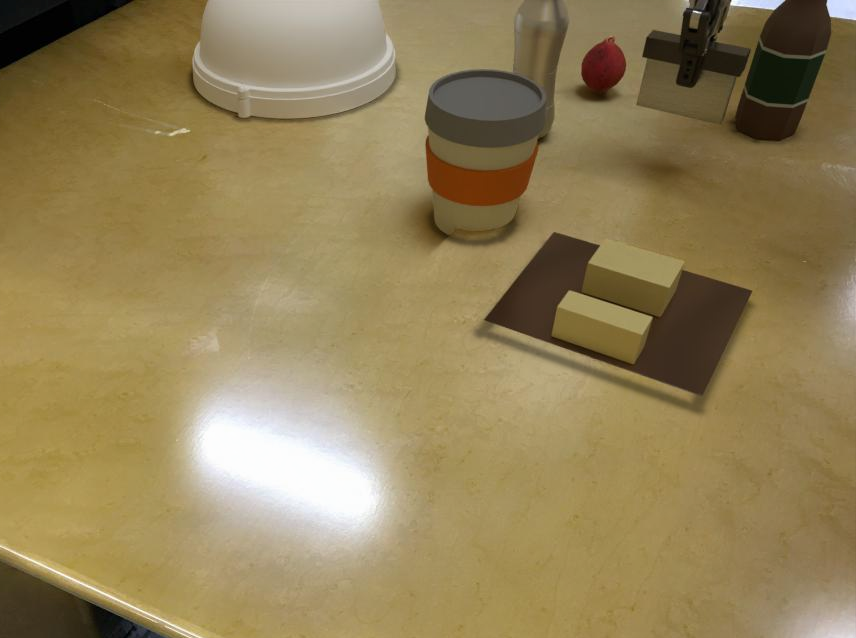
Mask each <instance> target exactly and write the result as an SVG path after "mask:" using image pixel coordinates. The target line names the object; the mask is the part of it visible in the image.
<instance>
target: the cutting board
mask: <svg viewBox="0 0 856 638" xmlns="http://www.w3.org/2000/svg"><path fill="white" fill-rule="evenodd" d="M600 245H601V244H597V243H593V242H590V241H587V240H583V239H581V238H577V237H573V236H570V235H566V234H563V233H560V232H555V231H553V233H551V234H550V235H549V237H548V238H547V240H546V241H545V242H544V243H543V244H542V246H541V247H540V249H538V251H537V252H536V254H535V255H534V256H533V257H532V259H531V260H530V261H529V262H528V264H526V266H525V267H524V269H523V270H522V271H521V273H519V275H518V276H517V277H516V278H515V280H514V281H513V282H512V284H511V285H510V286H509V287H508V289H507V290H506V291H505V293H503V295H502V296H501V298H500V299H499V300H498V301H497V302H496V304H495V305H494V306H493V308H492V309H491V310H490V312H489V313H488V314H487V315H486V316H485V318H484V319H483V321H485V322H488V323H491V324H494V325H496V326H498V327H499V326H500V327H502V328H505V329H508V330H511V331H514V332H517V333H519V334H523V335H525V336H528V337H531V338H534V339H537V340H539V341H543V342H544V343H547V344H551V345H553V346H556V347H559V348H562V349H565V350H568V351H571V352H573V353H577V354H579V355H582V356H585V357H587V358H590V359H594V360H597V361H599V362H602V363H606V364H608V365H611V366H614V367H617V368H620V369H623V370H625V371H628V372H631V373H634V374H637V375H640V376H641V377H642V376H643V377H645V378H649V379H651V380H654V381H657V382H660V383H662V384H665V385H668V386H671V387H674V388H677V389H679V390H682V391H685V392H688V393H691V394H694V395H696V396H700V397H703V396H704V394H705V391H706V389H707V388H708V385H709V383H710V381H711V379H712V377H713V375H714V372H715V371H716V368H717V366H718V364H719V362H720V360H721V358H722V356H723V354H724V352H725V350H726V348H727V346H728V343H729V342H730V339H731V337H732V335H733V334H734V331H735V329H736V326H737V325H738V323H739V320H740V319H741V317H742V314H743V312H744V310H745V309H746V306H747V304H748V302H749V299H750V297H751V295H752V293H753V290H752V289H750V288H746V287H742V286H739V285H735V284H732V283H729V282H725V281H722V280H718V279H716V278H711V277H708V276H705V275H701V274H698V273H695V272H691V271H689V270H688V271H687V270H685V269H683V270H682V273H681V276H680V279H679V282H678V286H677V289H676V291H675V293H674V295H673V297H672V298H671V300H670V302H669V304H668V305H667V307H666V309H665V310H664V312H663V314H662V316H661V317H658V316H654V315H651V314H648V313H645V312H642V311H639V310H636V309H633V308H629V307H626V306H623V305H620V304H617V303H614V302H611V301H608V300H605V299H601V298H598V297H595V296H592V295H589V294H586V293H583V292H582V287H583V283H584V278H585V274H586V269H587V265H588V262H589V261H590V259H591V258H592V256H593V255H594V254H595V252H596V251H597V249H598V248H599V247H600ZM569 290H570V291H573V292H577V293H580V294H583V295H586V296H589V297H592V298H595V299H598V300H601V301H605V302H608V303H611V304H614V305H617V306H620V307H623V308H626V309H629V310H633V311H636V312H639V313H642V314H645V315H648V316H651V317H653V319H652V322H651V326H650V329H649V332H648V336H647V339H646V342H645V346H644V348H643V350H642V351H641V353H640V355H639V357H638V358H637V360H636V362H635V363H634V364H630V363H627V362H624V361H621V360H619V359H616V358H613V357H610V356H607V355H604V354H601V353H598V352H595V351H593V350H590V349H587V348H584V347H581V346H578V345H575V344H572V343H569V342H567V341H564V340H561V339H558V338H555V337H552V336H551V335H552V330H553V325H554V320H555V315H556V310H557V306H558V305H559V304H560V302H561V301H562V299H563V298H564V297H565V295H566V294H567V292H568V291H569Z"/></svg>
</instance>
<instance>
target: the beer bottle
mask: <svg viewBox="0 0 856 638" xmlns="http://www.w3.org/2000/svg"><path fill="white" fill-rule="evenodd" d="M831 36H832V19H831V15H830V11H829V8H828V0H784V1H783V2H781V3H780V4H779V5H777V7H776V8H775V9H774V10H773V11H772V12H771V14H769V17H768V18H767V19H766V21H765V22H764V25H763V27H762V30H761V33H760V35H759V38H758V41H757V44H756V48H755V51H754V53H753V57H752V60H751V63H750V66H749V69H748V73H747V75H746V80H745V82H744V85H743V89H742V91H741V94H740V98H739V101H738V105H737V109H736V112H735V117H734V118H735V123H736V127H737V131H739V132H741V133H743V134H745V135H747V136H750V137H751V138H754V139H756V140H771V141H780V140H783V139H785V138H787V137H789V136H792V135H794V134H795V133H796V132H797V129H798V127H799V125H800V123H801V120H802V117H803V115H804V113H805V109H806V107H807V105H808V101H809V99H810V96H811V93H812V91H813V88H814V86H815V82H816V81H817V77H818V74H819V71H820V69H821V66H822V64H823V61H824V59H825V56H826V53H827V50H828V46H829V43H830V39H831Z"/></svg>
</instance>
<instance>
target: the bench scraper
mask: <svg viewBox="0 0 856 638" xmlns="http://www.w3.org/2000/svg"><path fill="white" fill-rule="evenodd" d="M680 36H681V34H678V33H677V34H676V33H671V32H667V31H661V30H656V29H652V30H651V32H650V33H649V34H648V35H647V36H646V37H645V42H644V46H643V51H642V55H641V57H642V58H645V59H646V62H645V66H644V70H643V75H642V79H641V84H640V88H639V92H638V96H637V100H636V106H637V107H642V108H647V109H651V110H655V111H660V112H664V113H668V114H673V115H677V116H682V117H685V118H691V119H695V120H699V121H703V122H707V123H712V124H716V125H722V123H723V121H724V118H725V116H726V114H727V113H726V112H727V110H728V107H729V103H730V100H731V98H732V94H733V91H734V87H735V84H736V81H737V78H740V77H741V76H742V75H743V73H744V72H745V70H746V66H747V63H748V61H749V57H750V54H751V52H752V48H750V47H744V46H739V45H734V44H729V43H724V42H719V41H715V42H714V41H709V44H708V48H707V49H708V51H707V53H706V54H705V56H704V59H703V63H702V66H701V70H700V74H699V77H698V81H697V84H696V85H695V86H694V87H693V88H688V87H683V86H679V85H677V84H676V78H677V75H678V71H679V67H680V63H681V60H682V56H683V53H679V52H678V51H679V49H678V47H679V43H680ZM691 42H693V43H698V42H697V41H693V40H691Z"/></svg>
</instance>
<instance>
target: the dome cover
mask: <svg viewBox="0 0 856 638" xmlns="http://www.w3.org/2000/svg"><path fill="white" fill-rule="evenodd" d="M199 38H200V39H199V41H198V42H197V44H196V45H195V47H194V50H193V55H192V61H191V63H192V64H191V65H192V81H193V85H194V87H195V90H196V91H197V92H198V93H199V94H200V95H201V97H202V98H204V99H205V100H206V101H208V102H209V103H211V104H213V105H215V106H217V107H220V108H222V109H224V110H227V111H230V112H232V113H237V116H238V117H239V118H240V119H248V118H250V117H258V118H266V119H283V120H284V119H285V120H286V119H288V120H289V119H290V120H291V119H307V118H318V117H324V116H329V115H335V114H339V113H343V112H347V111H350V110H354V109H356V108H359V107H362V106H365V105H366V104H368V103H370V102H372V101H374V100H376V99H377V98H379V97H380V96H382V95H383V94H384V93H386V91H388V90H389V88H391V86H392V85H393V83H394V82H395V78H396V75H397V71H396V69H397V68H396V67H397V66H396V50H395V48H394V44H393V41H392V39H391V37H390V35H388V33H386V26H385V21H384V15H383V12H382V8H381V6H380V3H379V0H207V2H206V5H205V8H204V11H203V12H202V19H201V26H200V35H199Z"/></svg>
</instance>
